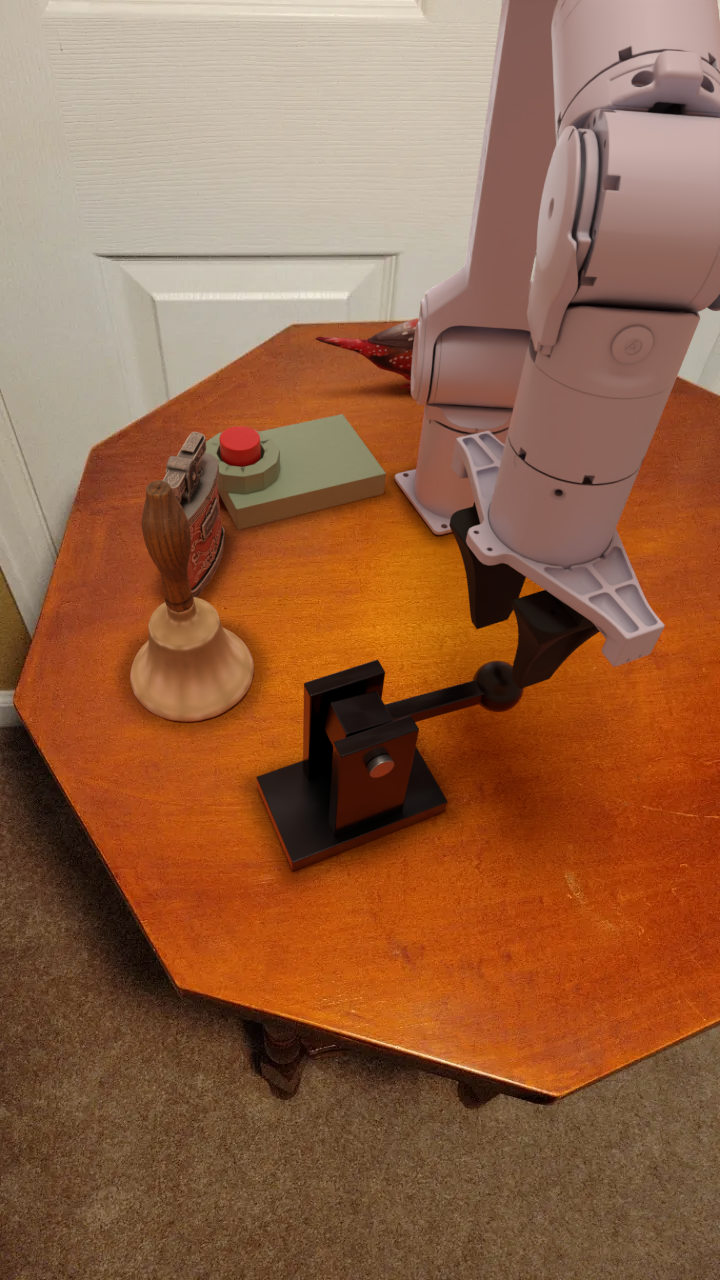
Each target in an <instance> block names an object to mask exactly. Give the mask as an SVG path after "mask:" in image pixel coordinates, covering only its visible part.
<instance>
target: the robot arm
mask: <svg viewBox="0 0 720 1280" xmlns="http://www.w3.org/2000/svg"><path fill="white" fill-rule="evenodd" d="M500 6H501V7H500V16H499V23H498V29H497V37H496V45H495V50H494V57H493V65H492V72H491V78H490V85H489V94H488V100H487V108H486V115H485V121H484V128H483V136H482V143H481V149H480V157H479V164H478V170H477V177H476V184H475V185H476V186H475V192H474V199H473V205H472V213H471V218H470V219H471V220H470V228H469V234H468V242H467V247H466V248H467V249H466V253H465V254H466V256H465V262H464V265H463V267H462V268H460V269H459V270H458V271H456V272H454V273H453V274H452V275H449V277H447V278H446V279H444V280H442V281H440V282H438V283H437V284H435V285H433V286H432V287H430V288H429V289H428V290H427V291H426V292H425V293H424V298H422V299H421V301H420V306H419V312H418V313H419V315H418V318H419V321H418V323H417V325H416V330H415V336H414V344H413V353H412V366H411V381H410V383H411V386H410V387H411V389H410V396H411V398H412V399H413V401H414V402H415V403H416V405H417V406H422V407H424V410H423V417H422V424H421V429H420V430H421V431H420V438H419V445H418V452H417V459H416V466H415V468H414V469H410V470H406V471H402V472H398V473H396V474H395V475H394V481H395V483H396V484H397V486H398V487H399V488H400V490H401V491H402V492H403V494H404V495H405V497H406V498H407V499H408V501H409V502H410V503H411V504H412V506H413V507H414V509H415V510H416V512H417V513H418V514H419V516H420V517H421V518H422V520H423V521H424V522H425V524H426V525H427V526H428V528H429V530H430V531H431V532H432V533H433V534H434V535H437V536H443V535H445V534H450V533H452V535H453V536H454V539H455V541H456V543H457V546H458V549H459V552H460V554H461V558H462V561H463V566H464V571H465V576H466V585H467V593H468V594H467V595H468V604H469V605H468V607H469V615H470V620H471V623H472V625H473V626H474V627H475V629H476V630H480V629H483V628H486V627H489V626H492V625H496V624H498V623H502V622H505V621H508V620H509V618H510V616H511V615H512V613H513V612H514V614H515V619H516V624H517V648H516V650H515V651H516V652H515V655H514V660H513V663H512V666H513V668H512V678H513V681H514V682H515V684H516V685H517V687H518V688H520V689H522V688H524V689H525V688H528V687H530V686H533V685H534V686H535V685H537V684H540V683H542V682H545V681H548V680H550V679H551V678H552V676H554V675H555V673H556V672H557V670H558V669H559V668H560V666H561V665H563V663H564V662H565V661H566V660H567V659H568V658H569V657H570V656H571V655H572V654H573V653H574V652H575V651H576V650H577V649H578V648H579V647H581V646H582V645H583V644H584V643H586V642H587V641H589V640H590V639H591V638H593V637H594V636H595V635H597V634H598V633H600V634H601V635H602V636H603V637H604V638H605V641H604V643H603V646H602V648H601V653H602V655H603V656H604V657H605V658H606V660H607V661H608V662H609V664H610V665H611V666H612V667H614V668H615V667H619V666H622V665H624V664H628V663H631V662H634V661H636V660H639V659H641V658H643V657H647V656H649V655H651V654H652V652H653V649H654V648H655V646H656V644H657V642H658V640H659V638H660V636H661V634H662V633H663V631H664V629H665V628H666V627H665V626H666V625H665V623H664V622H663V621H662V620H661V619H660V618H659V616H658V615H657V614H656V612H655V611H654V610H653V608H652V607H651V606H650V603H649V602H648V600H647V598H646V596H645V593H644V592H643V589H642V587H641V585H640V582H639V579H638V577H637V575H636V573H635V570H634V568H633V565H632V563H631V561H630V558H629V556H628V554H627V551H626V549H625V547H624V544H623V542H622V540H621V537H620V535H619V531H618V530H617V527H618V524H619V522H620V519H621V516H622V514H623V512H624V509H625V506H626V505H627V501H628V499H629V496H630V494H631V492H632V490H633V489H632V488H633V486H634V484H635V482H636V479H637V477H638V475H639V473H640V469H641V468H642V464H643V463H644V460H645V458H646V455H647V452H648V450H649V447H650V445H651V442H652V440H653V437H654V436H655V433H656V430H657V427H658V425H659V423H660V420H661V417H662V415H663V413H664V410H665V408H666V405H667V403H668V401H669V397H670V396H671V393H672V391H673V389H674V386H675V383H676V380H677V378H678V375H679V373H680V370H681V368H682V365H683V363H684V360H685V357H686V355H687V353H688V350H689V349H690V346H691V343H692V340H693V338H694V335H695V333H696V331H697V328H698V326H699V323H700V321H701V316H700V314H699V313H700V312H702V311H703V310H705V309H708V310H710V311H712V312H720V11H719V2H718V0H501V5H500ZM533 269H534V270H533ZM532 275H533V276H532ZM526 579H528V580H530V581H531V582H533V583H534V584H536V585H537V586H538V587H540V588H542V589H543V590H541V591H537V592H534V593H531V594H527V595H524V596H521V592H522V590H523V587H524V584H525V581H526ZM520 596H521V597H520Z"/></svg>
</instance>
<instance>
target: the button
mask: <svg viewBox="0 0 720 1280" xmlns="http://www.w3.org/2000/svg"><path fill="white" fill-rule="evenodd" d="M257 431H258V430H255V429H254V428H252V427H248V426H242V425H237V426H232V427H228V428H226V429H224V430H223V431H221V432H222V433H221V435H220V438H219V441H220V452H221V458H222V460H223V462H224V463H226V464H228V465H230V466H238V467H245V466H249V465H254V464H255V463H257V462H258V461H259V460H260V457H261V445H260V435H259V434H258V432H257Z"/></svg>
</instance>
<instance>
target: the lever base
mask: <svg viewBox="0 0 720 1280" xmlns="http://www.w3.org/2000/svg"><path fill="white" fill-rule="evenodd" d="M385 676H386V671H385V669H384V667H383V666H382V664H381V662H380V661H379V659H375V660H371V661H368V662H365V663H362V664H359V665H356V666H353V667H349V668H346V669H344V670H340V671H337V672H333V673H331V674H327V675H325V676H321V677H318V678H315V679H311V680H309V681H306V682H304V683H303V717H302V718H303V720H302V722H303V724H302V725H303V727H302V728H303V729H302V730H303V731H302V760H301V761H298V762H295V763H292V764H289V765H286V766H283V767H280V768H277V769H274V770H272V771H269V772H266V773H263V774H260V775H257V776H255V777H256V789H257V790H258V793H259V794H260V798H261V800H262V802H263V805H264V808H265V809H266V812H267V814H268V817H269V819H270V821H271V825H272V826H273V829H274V831H275V833H276V836H277V838H278V840H279V842H280V846H281V848H282V850H283V853H284V855H285V858H286V860H287V862H288V864H289V867H290V869H291V871H292V872H295V871H298V870H301V869H302V868H305V867H309V866H310V865H313V864H315V863H318V862H321V861H322V860H325V859H328V858H330V857H333V856H335V855H338V854H341V853H343V852H346V851H348V850H350V849H353V848H356V847H359V846H361V845H364V844H367V843H369V842H371V841H373V840H376V839H379V838H381V837H384V836H386V835H388V834H391V833H393V832H396V831H399V830H401V829H404V828H406V827H409V826H411V825H414V824H416V823H419V822H422V821H424V820H428V818H431V817H434V816H437V815H440V814H442V813H445V812H446V810H447V806H448V803H449V801H448V799H447V797H446V796H445V794H444V792H443V791H442V789H441V787H440V785H439V784H438V782H437V780H436V779H435V777H434V775H433V773H432V771H431V769H430V768H429V766H428V764H427V763H426V761H425V759H424V758H423V755H421V752H420V751H419V749H418V748H417V742H418V738H419V732H420V728H419V726H418V724H417V722H415V721H414V720H413V718H412V716H411V715H410V716H407V717H404V718H401V719H398V720H395V721H393V722H390V723H387V724H384V725H381V726H378V727H375V728H372V729H370V730H367V731H364V732H361V733H358V734H355V735H352V736H349V737H347V738H344V739H341V740H338V741H335V742H334V744H333V745H332V743H331V741H330V739H329V737H328V735H327V733H326V731H325V724H326V720H327V715H328V710H329V706H330V703H331V702H334V701H338V700H342V699H346V698H349V697H353V696H357V695H361V694H365V693H369V692H372V691H377V692H378V694H379V696H380V697H381V699H382V700H383V692H384V684H385Z"/></svg>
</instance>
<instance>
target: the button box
mask: <svg viewBox="0 0 720 1280" xmlns="http://www.w3.org/2000/svg"><path fill="white" fill-rule="evenodd" d="M256 431H257V432H258V434H259V435H260V445H261V457H260V460H259V461H258V462H257V463H255V464H254V465H249V466H245V467H238V466H230V465H228V464H226V463H224V462H223V460H222V458H221V452H220V441H219V438H220V435H221V433H222V432H223V431H220V432H218V433H217V434H215V435H213V436H212V437H211V438H209V439H208V440H206V451H205V453H208V454H211V455H213V456H214V457H216V458H217V460H218V465H219V475H218V480H217V484H218V495H219V497H220V498H221V500H222V502H223V504H224V506H225V508H226V509H227V512H228V513H229V516H230V518H231V519H232V521H233V524H234V526H235V527H236V529H237V530H238V531H240V530H244V529H248V528H252V527H256V526H260V525H264V524H269V523H273V522H276V521H280V520H284V519H288V518H292V517H297V516H301V515H304V514H309V513H313V512H316V511H321V510H325V509H329V508H333V507H338V506H339V505H340V506H341V505H345V504H348V503H352V502H358V501H361V500H364V499H369V498H372V497H377V496H381V495H384V494H385V486H386V480H387V479H386V478H387V472H386V471H385V470H384V468H383V467H382V466H381V464H380V462H378V460H377V459H376V458H375V456H374V454H373V453H372V452H371V450H370V449H369V448H368V447H367V445H366V444H365V442H364V441H363V440H362V438H361V436H359V434H358V433H357V432H356V430H355V429H354V427H353V426H352V425H351V423H350V422H349V421H348V419H347V418H346V416H345V415H344V414H343V413H341V414H336V415H331V416H326V417H322V418H317V419H313V420H308V421H307V420H306V421H303V422H297V423H293V424H288V425H283V426H279V427H275V428H270V429H266V430H260V431H259V430H256Z"/></svg>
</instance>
